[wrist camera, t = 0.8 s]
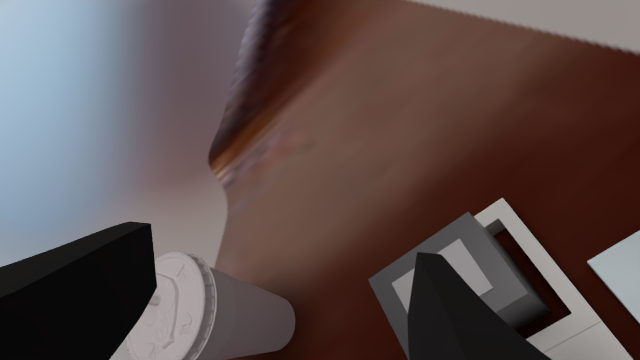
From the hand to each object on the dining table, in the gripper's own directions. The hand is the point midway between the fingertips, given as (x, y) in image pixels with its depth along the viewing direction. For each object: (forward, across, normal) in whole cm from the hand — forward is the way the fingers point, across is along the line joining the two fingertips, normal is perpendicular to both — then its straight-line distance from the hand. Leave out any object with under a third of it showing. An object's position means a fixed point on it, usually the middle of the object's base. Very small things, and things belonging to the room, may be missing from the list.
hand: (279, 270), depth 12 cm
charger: (+11, -9, +8) cm, 16 cm away
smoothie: (+15, +3, +14) cm, 21 cm away
